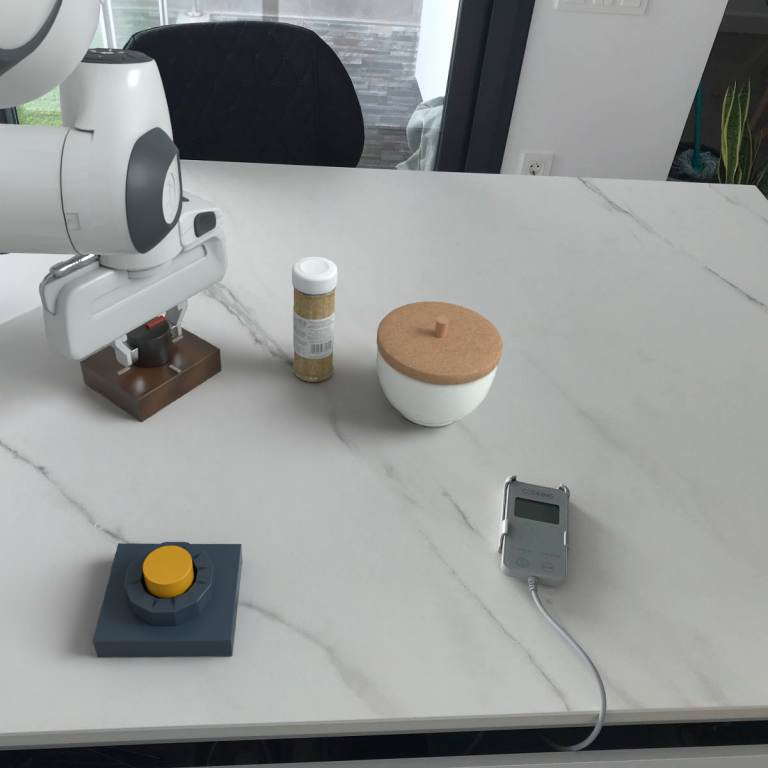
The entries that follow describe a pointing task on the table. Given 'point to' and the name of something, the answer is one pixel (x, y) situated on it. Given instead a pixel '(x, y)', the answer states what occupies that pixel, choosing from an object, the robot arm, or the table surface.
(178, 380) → the dial panel
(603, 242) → the table surface
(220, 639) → the button housing
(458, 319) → the decorative box
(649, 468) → the table surface
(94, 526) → the table surface
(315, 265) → the sprinkles bottle
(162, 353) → the dial
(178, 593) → the trigger button
